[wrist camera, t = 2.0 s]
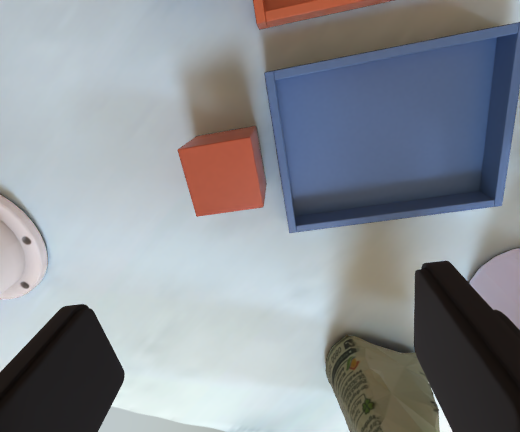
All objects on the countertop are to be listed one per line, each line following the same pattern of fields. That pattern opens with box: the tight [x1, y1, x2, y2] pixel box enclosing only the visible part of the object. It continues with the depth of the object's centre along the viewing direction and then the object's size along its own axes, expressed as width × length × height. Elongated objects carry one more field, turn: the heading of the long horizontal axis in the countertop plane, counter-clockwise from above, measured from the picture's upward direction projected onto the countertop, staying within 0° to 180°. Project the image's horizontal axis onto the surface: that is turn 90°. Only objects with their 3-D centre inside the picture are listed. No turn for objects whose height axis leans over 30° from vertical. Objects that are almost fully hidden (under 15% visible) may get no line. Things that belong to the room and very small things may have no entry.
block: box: [178, 126, 266, 216], centre depth 23 cm, size 5×5×5 cm
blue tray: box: [265, 22, 520, 233], centre depth 23 cm, size 16×12×2 cm
